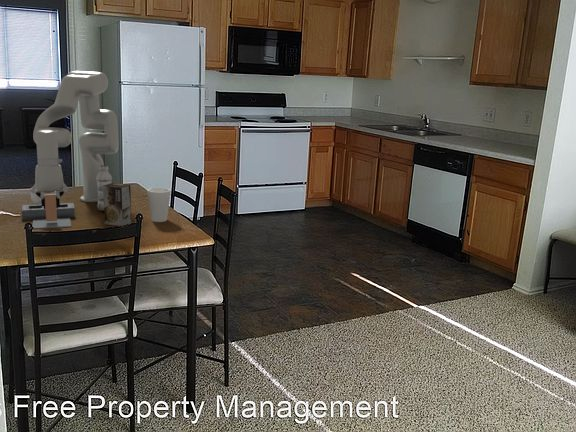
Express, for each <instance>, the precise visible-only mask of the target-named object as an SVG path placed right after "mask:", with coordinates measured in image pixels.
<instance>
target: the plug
mask: <svg viewBox="0 0 576 432" xmlns="http://www.w3.org/2000/svg"><path fill="white" fill-rule="evenodd" d="M45 209H46V221H57V219H58V218H57V209H56V194H46V195H45Z"/></svg>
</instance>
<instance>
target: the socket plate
mask: <svg viewBox="0 0 576 432" xmlns="http://www.w3.org/2000/svg"><path fill="white" fill-rule="evenodd" d="M56 209H57V219H63V218H70V219H71V218H75V217H76V212H75V211H76V210H75V209H76V208H75V204H74V202H64V203H63V202H61V203H60V206H58V208H56ZM43 219H46V209H44V206H42V204H37V205H36V204H22V207H21V220H22V221H27V220H28V221H29V220H43Z"/></svg>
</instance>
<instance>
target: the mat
mask: <svg viewBox="0 0 576 432" xmlns="http://www.w3.org/2000/svg"><path fill="white" fill-rule="evenodd" d="M32 227H34V229H33V230H41V229H56V228H58V229H59V228H71V227H72V222H71V217H70V218H57V221H46V219H32Z"/></svg>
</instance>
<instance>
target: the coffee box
mask: <svg viewBox="0 0 576 432" xmlns="http://www.w3.org/2000/svg"><path fill="white" fill-rule="evenodd" d="M131 196H132V195H131V184H126V183H125V184H123V183H118V182H117V183H116V182H115V183H114V182H111V183H110V184H107V185H104V186H103V198H104V211H103V215H104V225H110V226H116V227H117V226H118V227H121V226H120V225H126V224H128V225H130V224H132V202H131V200H132V199H131V198H132V197H131ZM126 226H127V225H126Z"/></svg>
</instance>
